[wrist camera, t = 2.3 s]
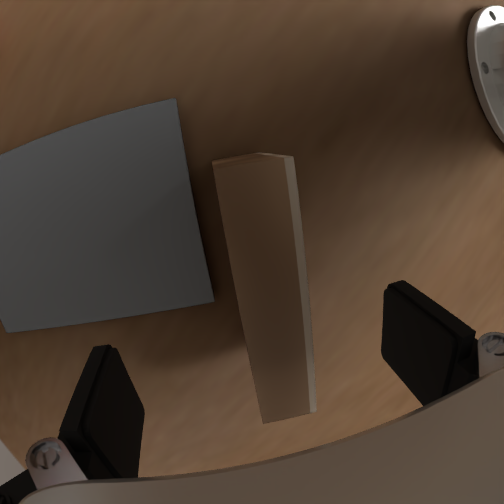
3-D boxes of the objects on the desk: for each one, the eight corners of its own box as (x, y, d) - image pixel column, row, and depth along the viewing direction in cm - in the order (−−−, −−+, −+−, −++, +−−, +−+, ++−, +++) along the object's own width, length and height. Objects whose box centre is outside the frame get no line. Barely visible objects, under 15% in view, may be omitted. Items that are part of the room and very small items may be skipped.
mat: (176, 99, 15) (175, 97, 14) (214, 297, 18) (214, 301, 18) (-38, 175, 14) (-43, 176, 13) (10, 328, 17) (6, 333, 17)
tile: (259, 152, 16) (293, 156, 10) (284, 333, 20) (316, 411, 13) (211, 160, 16) (213, 169, 10) (245, 341, 20) (263, 423, 13)
